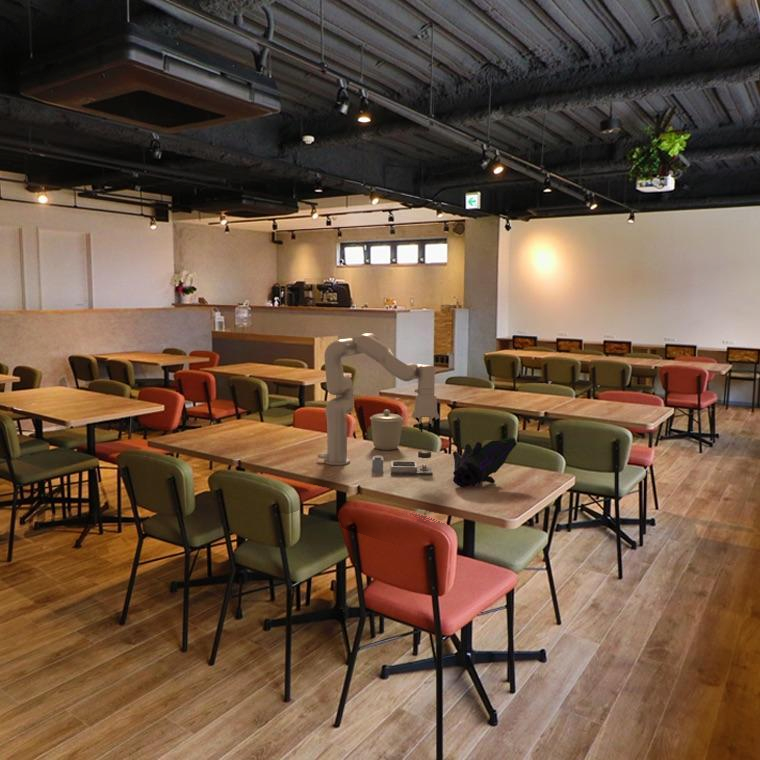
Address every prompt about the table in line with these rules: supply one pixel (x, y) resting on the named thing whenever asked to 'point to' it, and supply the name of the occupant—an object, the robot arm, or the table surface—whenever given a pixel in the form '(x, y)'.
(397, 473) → the chassis
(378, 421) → the canister
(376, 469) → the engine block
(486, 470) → the decorative plant
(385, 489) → the table surface
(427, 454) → the wheel
